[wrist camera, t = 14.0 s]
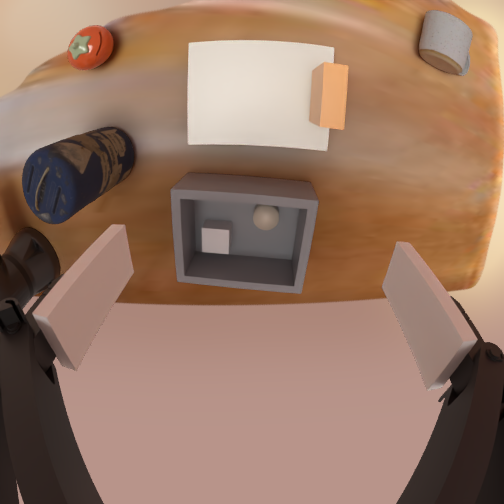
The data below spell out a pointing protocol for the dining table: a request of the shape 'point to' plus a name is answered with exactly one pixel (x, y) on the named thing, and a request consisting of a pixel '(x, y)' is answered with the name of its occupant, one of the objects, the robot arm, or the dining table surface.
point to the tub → (243, 231)
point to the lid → (264, 93)
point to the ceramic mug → (445, 42)
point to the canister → (75, 172)
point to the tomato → (90, 47)
